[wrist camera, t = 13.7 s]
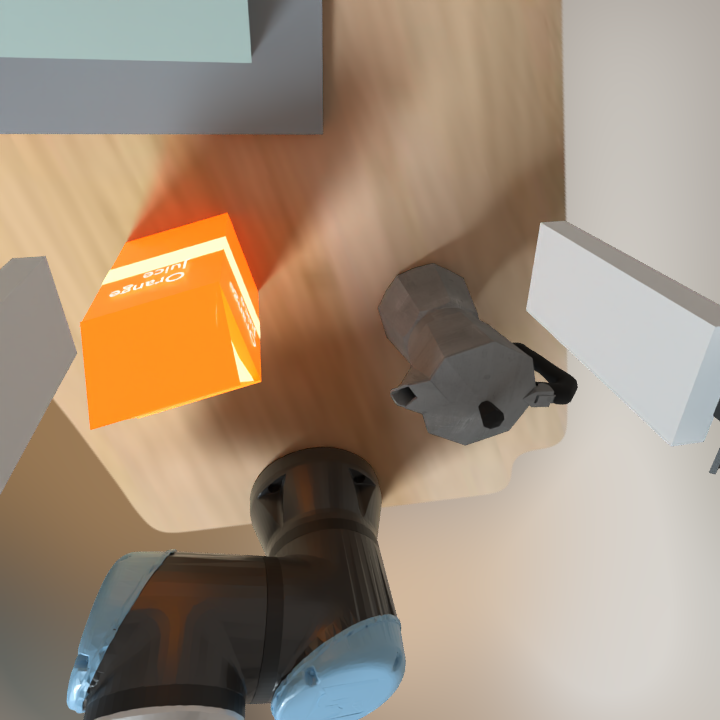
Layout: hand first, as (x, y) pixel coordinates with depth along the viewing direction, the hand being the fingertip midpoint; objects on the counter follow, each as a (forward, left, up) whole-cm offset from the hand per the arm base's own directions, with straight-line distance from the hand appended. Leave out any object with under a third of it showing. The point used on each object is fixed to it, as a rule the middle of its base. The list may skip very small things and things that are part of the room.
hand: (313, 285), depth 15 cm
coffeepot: (-17, -15, -32) cm, 39 cm away
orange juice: (-12, +7, -32) cm, 35 cm away
